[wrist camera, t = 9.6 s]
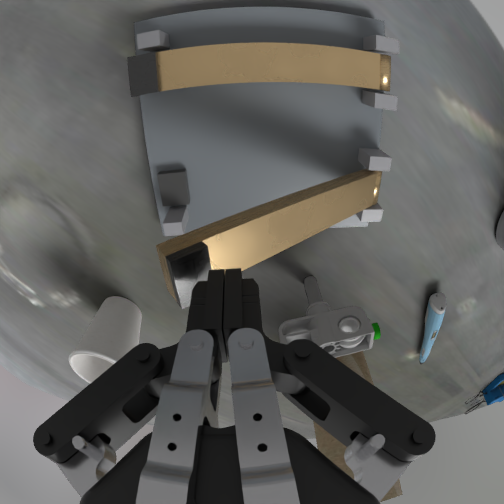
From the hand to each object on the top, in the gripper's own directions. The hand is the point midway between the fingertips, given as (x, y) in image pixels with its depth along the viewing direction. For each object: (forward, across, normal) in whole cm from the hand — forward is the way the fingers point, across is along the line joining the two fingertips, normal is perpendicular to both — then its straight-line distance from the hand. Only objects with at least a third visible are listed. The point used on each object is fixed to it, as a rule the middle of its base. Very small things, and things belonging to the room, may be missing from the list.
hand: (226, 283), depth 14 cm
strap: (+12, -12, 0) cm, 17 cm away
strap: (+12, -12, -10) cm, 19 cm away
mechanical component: (+15, -8, +13) cm, 21 cm away
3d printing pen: (+18, -32, +31) cm, 48 cm away
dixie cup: (+15, +16, +17) cm, 28 cm away
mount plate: (+14, -3, -5) cm, 16 cm away
